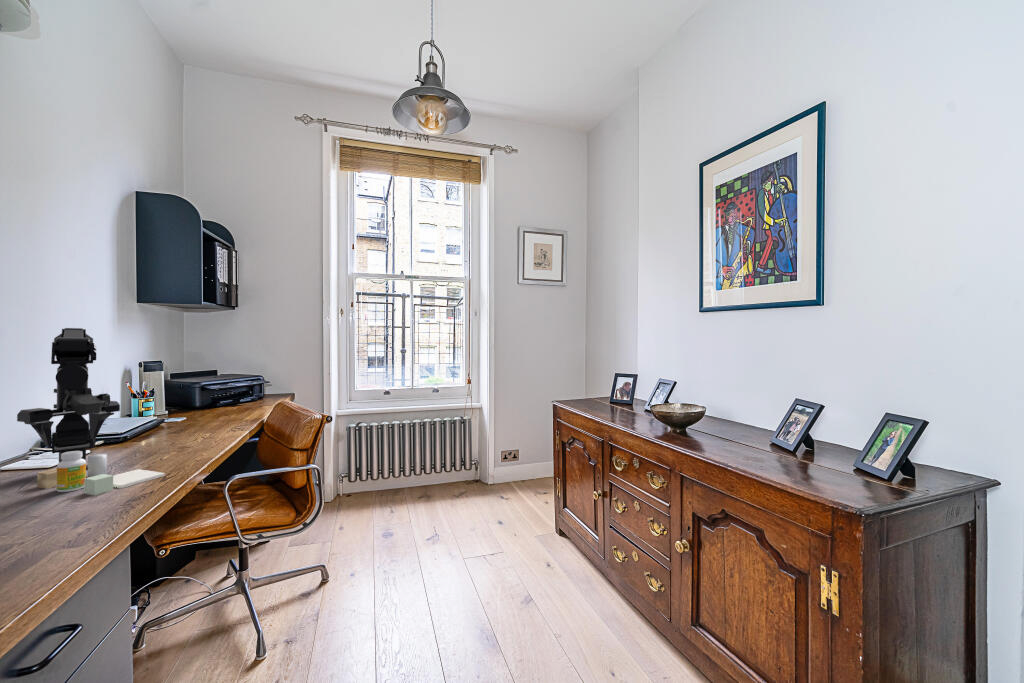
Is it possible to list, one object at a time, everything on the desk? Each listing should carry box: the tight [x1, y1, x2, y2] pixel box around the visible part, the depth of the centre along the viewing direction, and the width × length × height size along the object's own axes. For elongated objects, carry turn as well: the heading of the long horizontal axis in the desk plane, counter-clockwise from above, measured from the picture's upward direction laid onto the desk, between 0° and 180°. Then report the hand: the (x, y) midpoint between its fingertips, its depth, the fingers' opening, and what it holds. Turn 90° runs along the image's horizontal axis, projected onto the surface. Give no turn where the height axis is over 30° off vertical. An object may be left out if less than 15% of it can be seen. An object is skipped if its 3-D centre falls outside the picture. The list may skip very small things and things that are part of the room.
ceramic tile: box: [113, 468, 166, 489], centre depth 121 cm, size 11×11×1 cm
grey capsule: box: [87, 453, 108, 478], centre depth 123 cm, size 4×4×6 cm
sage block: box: [83, 473, 114, 496], centre depth 111 cm, size 4×4×4 cm
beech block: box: [36, 467, 57, 490], centre depth 115 cm, size 4×4×4 cm
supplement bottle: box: [56, 451, 87, 493], centre depth 113 cm, size 5×5×10 cm
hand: (71, 443), depth 113 cm, fingers open, 9 cm apart
